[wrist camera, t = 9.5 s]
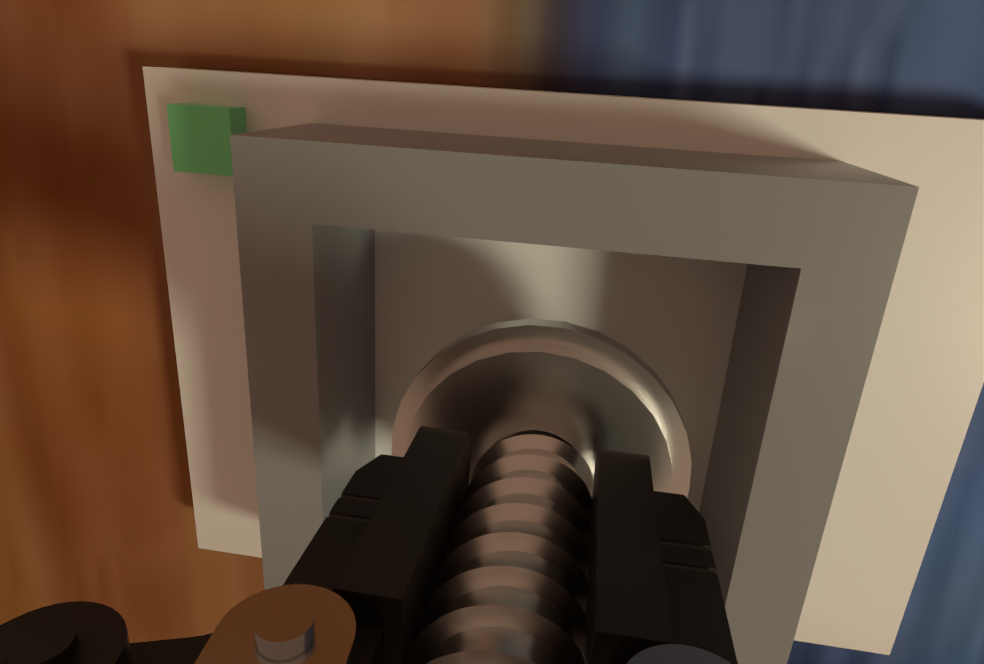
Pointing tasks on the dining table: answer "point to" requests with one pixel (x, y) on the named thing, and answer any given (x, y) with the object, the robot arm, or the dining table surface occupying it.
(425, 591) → the robot arm
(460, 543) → the screw
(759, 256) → the port plate
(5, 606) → the dining table surface
